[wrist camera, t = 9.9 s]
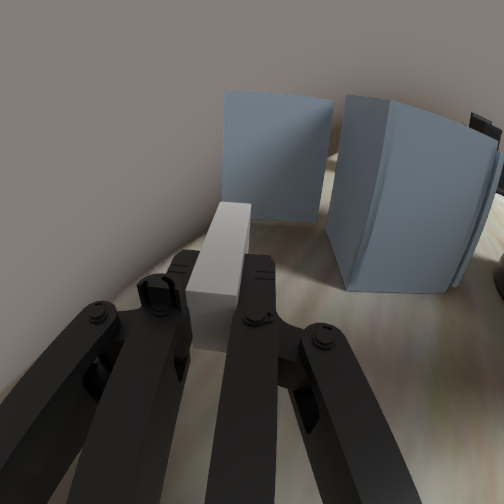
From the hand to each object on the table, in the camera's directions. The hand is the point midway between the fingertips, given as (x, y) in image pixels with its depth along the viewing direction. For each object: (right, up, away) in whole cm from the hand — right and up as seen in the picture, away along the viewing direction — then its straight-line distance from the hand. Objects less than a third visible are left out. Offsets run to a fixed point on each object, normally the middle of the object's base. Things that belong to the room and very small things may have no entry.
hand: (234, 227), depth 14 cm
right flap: (+3, +2, +14) cm, 15 cm away
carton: (+13, -2, +11) cm, 17 cm away
